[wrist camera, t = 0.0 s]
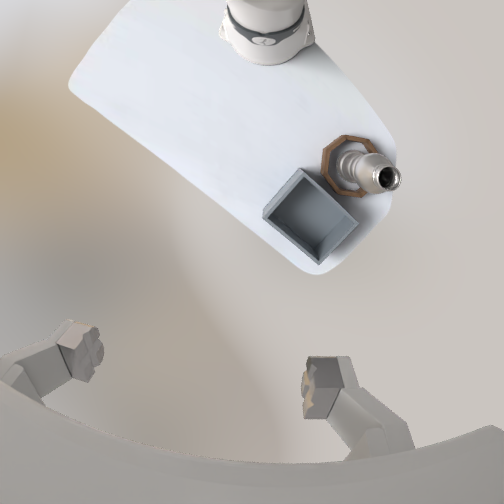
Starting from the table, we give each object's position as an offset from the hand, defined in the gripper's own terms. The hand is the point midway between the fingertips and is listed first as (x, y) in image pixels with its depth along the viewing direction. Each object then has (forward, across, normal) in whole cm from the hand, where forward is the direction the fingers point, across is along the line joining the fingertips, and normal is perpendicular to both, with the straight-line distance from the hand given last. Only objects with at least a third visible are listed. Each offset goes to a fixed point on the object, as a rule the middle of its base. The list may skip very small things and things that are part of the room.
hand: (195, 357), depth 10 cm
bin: (+48, -11, +5) cm, 50 cm away
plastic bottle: (+48, -18, -5) cm, 52 cm away
